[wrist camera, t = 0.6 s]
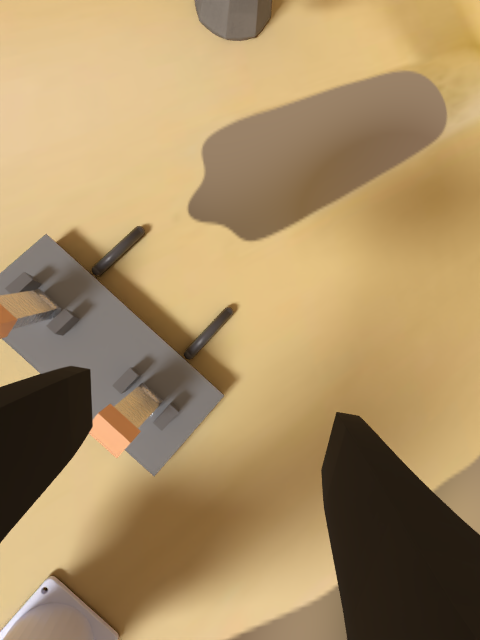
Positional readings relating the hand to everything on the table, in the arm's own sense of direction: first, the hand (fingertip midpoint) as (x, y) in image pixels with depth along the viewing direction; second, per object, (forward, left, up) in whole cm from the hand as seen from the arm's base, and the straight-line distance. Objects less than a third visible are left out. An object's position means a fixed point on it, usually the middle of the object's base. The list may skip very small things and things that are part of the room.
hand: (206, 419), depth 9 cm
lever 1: (-4, +15, -19) cm, 24 cm away
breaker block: (-1, +9, -22) cm, 23 cm away
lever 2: (-4, +3, -19) cm, 20 cm away
